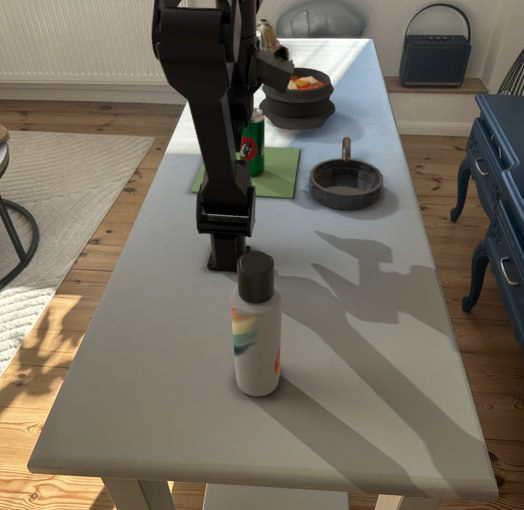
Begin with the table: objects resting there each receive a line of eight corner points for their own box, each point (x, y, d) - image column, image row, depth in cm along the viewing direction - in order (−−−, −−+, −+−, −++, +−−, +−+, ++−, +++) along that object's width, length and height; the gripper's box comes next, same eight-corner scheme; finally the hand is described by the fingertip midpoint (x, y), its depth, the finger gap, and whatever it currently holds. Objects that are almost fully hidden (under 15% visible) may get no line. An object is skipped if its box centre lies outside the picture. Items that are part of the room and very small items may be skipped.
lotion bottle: (278, 363, 66) (281, 241, 51) (280, 397, 62) (285, 276, 47) (236, 364, 66) (227, 243, 51) (236, 398, 62) (227, 278, 47)
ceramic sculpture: (282, 10, 147) (279, 29, 137) (282, 42, 153) (279, 62, 144) (247, 10, 147) (242, 28, 138) (248, 42, 154) (244, 61, 145)
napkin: (292, 198, 93) (292, 197, 93) (191, 192, 95) (191, 190, 95) (299, 150, 106) (299, 148, 106) (210, 145, 108) (210, 144, 108)
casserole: (338, 138, 110) (343, 100, 104) (257, 138, 110) (257, 99, 104) (330, 95, 127) (334, 59, 120) (259, 94, 127) (259, 59, 121)
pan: (381, 212, 90) (384, 197, 88) (306, 208, 91) (308, 192, 89) (378, 175, 99) (381, 160, 97) (310, 171, 100) (312, 156, 98)
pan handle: (350, 167, 98) (351, 159, 96) (341, 167, 98) (342, 158, 97) (350, 143, 105) (351, 135, 103) (341, 143, 105) (342, 135, 104)
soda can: (267, 176, 98) (267, 115, 89) (243, 179, 98) (241, 118, 89) (261, 164, 102) (260, 105, 93) (237, 167, 101) (235, 107, 92)
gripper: (286, 57, 63) (283, 169, 75) (296, 16, 76) (292, 118, 87) (203, 54, 64) (212, 165, 76) (226, 14, 76) (231, 115, 88)
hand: (241, 139), depth 82 cm, fingers open, 9 cm apart
